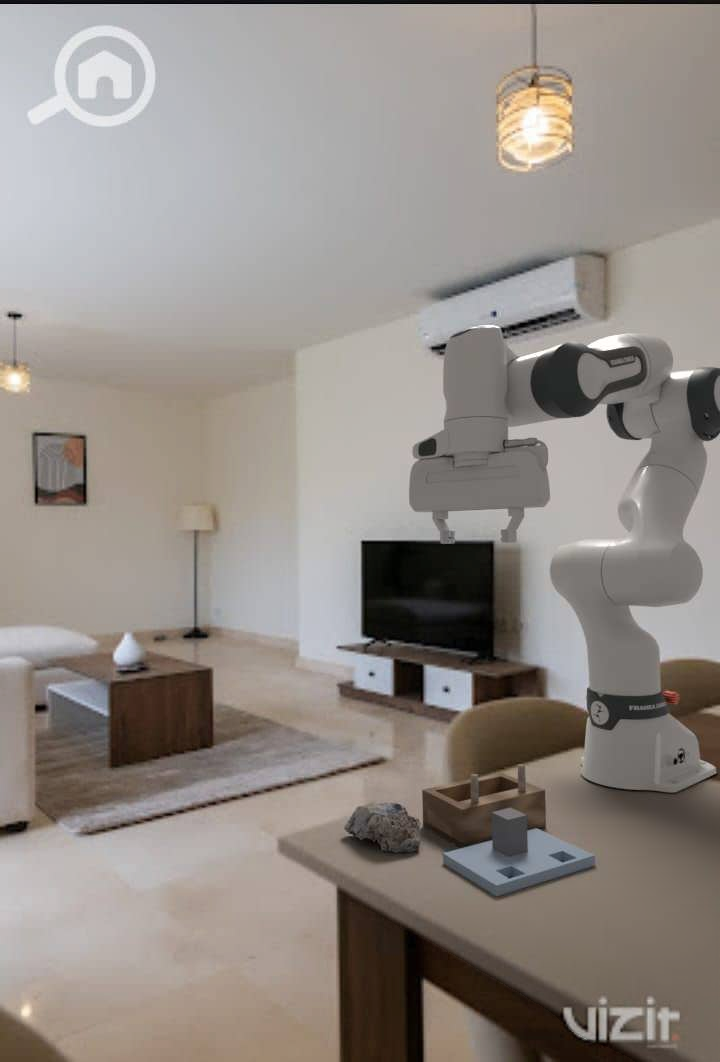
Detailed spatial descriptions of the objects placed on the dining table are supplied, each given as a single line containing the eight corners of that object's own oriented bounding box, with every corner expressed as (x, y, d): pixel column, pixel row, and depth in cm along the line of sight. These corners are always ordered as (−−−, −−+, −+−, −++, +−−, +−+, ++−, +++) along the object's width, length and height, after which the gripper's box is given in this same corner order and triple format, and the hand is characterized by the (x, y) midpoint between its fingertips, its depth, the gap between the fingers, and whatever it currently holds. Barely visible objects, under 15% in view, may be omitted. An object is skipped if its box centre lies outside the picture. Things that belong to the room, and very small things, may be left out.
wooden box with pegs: (502, 807, 109) (501, 748, 109) (546, 826, 101) (544, 763, 101) (423, 826, 102) (421, 764, 102) (462, 849, 94) (461, 781, 94)
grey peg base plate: (536, 837, 97) (535, 794, 97) (595, 865, 89) (593, 818, 89) (443, 863, 90) (442, 816, 90) (496, 896, 81) (495, 845, 81)
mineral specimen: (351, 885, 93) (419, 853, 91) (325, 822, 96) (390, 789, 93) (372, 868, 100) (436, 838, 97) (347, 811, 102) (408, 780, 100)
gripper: (556, 438, 99) (558, 542, 99) (425, 451, 111) (426, 544, 111) (537, 433, 94) (539, 542, 94) (402, 447, 106) (403, 544, 106)
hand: (477, 543), depth 103 cm, fingers open, 8 cm apart
